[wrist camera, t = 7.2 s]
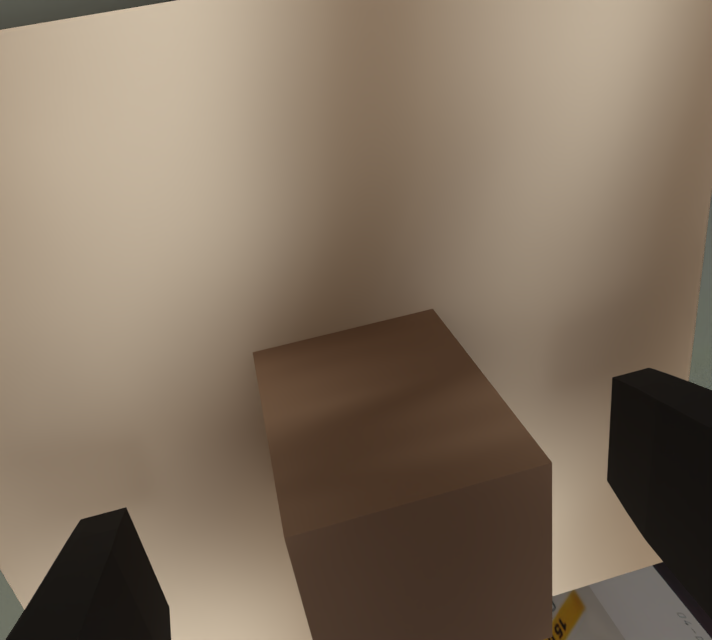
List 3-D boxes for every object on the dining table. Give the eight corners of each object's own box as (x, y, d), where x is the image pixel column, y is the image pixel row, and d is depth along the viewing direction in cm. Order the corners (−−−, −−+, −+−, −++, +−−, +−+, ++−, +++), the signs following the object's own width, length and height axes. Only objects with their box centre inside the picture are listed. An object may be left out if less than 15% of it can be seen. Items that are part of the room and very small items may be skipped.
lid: (705, -89, 9) (1110, -156, 5) (645, 535, 16) (811, 732, 11) (-249, 70, 8) (-760, 155, 4) (104, 700, 14) (67, 1000, 10)
